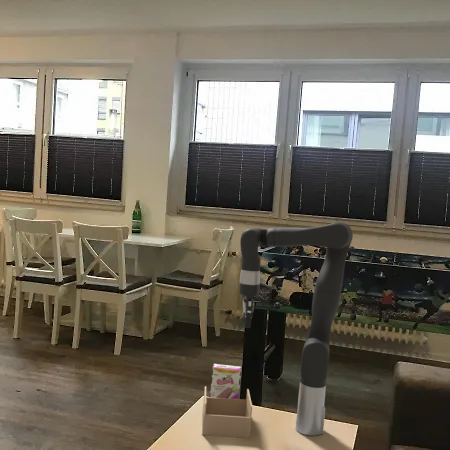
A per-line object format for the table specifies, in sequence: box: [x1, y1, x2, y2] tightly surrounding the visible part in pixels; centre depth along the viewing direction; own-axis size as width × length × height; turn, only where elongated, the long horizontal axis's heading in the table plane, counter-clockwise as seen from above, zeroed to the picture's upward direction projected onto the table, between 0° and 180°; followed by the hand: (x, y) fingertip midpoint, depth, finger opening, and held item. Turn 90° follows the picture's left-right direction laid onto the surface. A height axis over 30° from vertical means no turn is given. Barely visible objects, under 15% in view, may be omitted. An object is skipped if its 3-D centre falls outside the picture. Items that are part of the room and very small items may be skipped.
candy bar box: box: [209, 363, 243, 399], centre depth 215 cm, size 11×5×16 cm, turn 87°
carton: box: [201, 385, 253, 439], centre depth 200 cm, size 16×16×11 cm
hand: (246, 325), depth 211 cm, fingers open, 8 cm apart
